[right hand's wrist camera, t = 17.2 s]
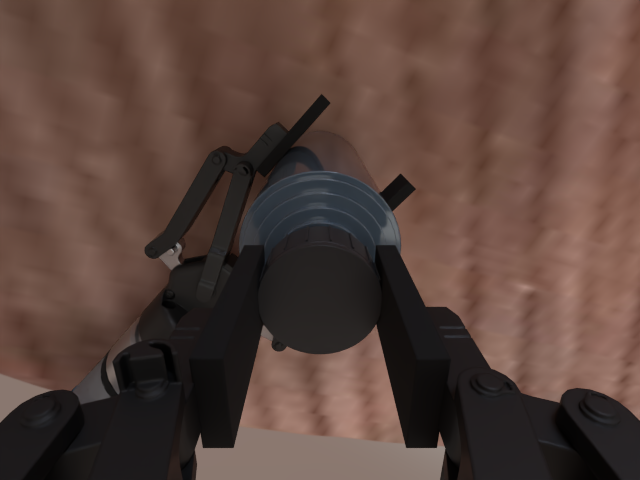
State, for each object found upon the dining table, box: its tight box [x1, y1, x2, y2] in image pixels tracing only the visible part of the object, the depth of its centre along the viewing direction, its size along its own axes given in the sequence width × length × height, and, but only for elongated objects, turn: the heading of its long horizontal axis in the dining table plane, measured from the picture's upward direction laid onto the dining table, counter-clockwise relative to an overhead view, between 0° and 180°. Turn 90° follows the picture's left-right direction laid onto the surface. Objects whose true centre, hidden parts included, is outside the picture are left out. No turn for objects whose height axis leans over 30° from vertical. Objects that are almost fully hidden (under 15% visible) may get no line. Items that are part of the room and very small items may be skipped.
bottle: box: [239, 131, 401, 265], centre depth 23 cm, size 7×7×21 cm
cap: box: [258, 226, 382, 354], centre depth 14 cm, size 4×4×2 cm
